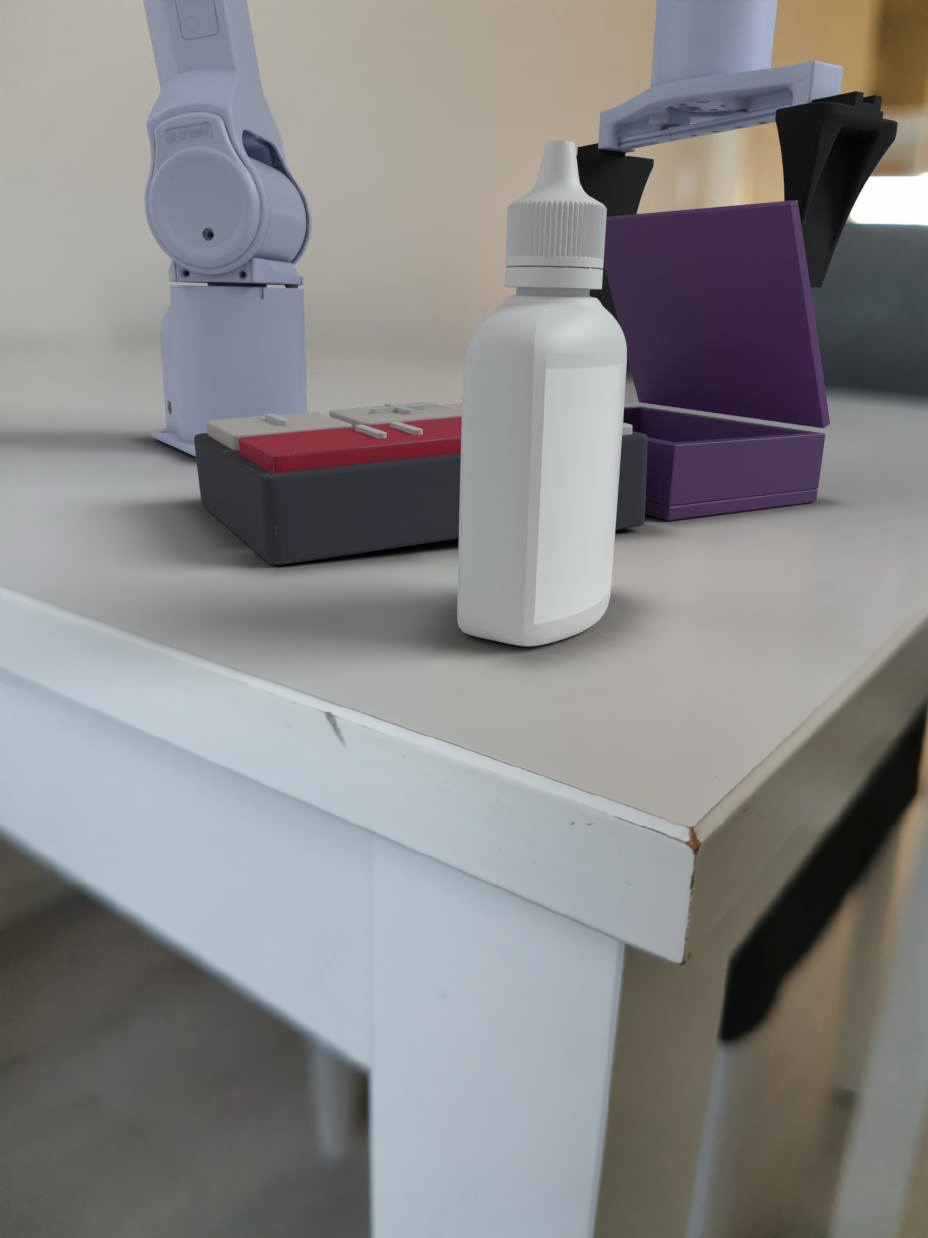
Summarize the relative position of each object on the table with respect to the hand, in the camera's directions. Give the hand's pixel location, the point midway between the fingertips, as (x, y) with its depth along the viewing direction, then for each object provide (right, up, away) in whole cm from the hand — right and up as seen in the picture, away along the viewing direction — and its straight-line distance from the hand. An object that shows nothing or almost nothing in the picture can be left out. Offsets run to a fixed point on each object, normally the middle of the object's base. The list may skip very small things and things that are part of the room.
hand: (690, 288), depth 51 cm
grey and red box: (-14, -13, -11) cm, 22 cm away
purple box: (-3, -11, -4) cm, 12 cm away
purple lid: (-1, -3, -5) cm, 6 cm away
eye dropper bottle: (-10, -17, -24) cm, 31 cm away
